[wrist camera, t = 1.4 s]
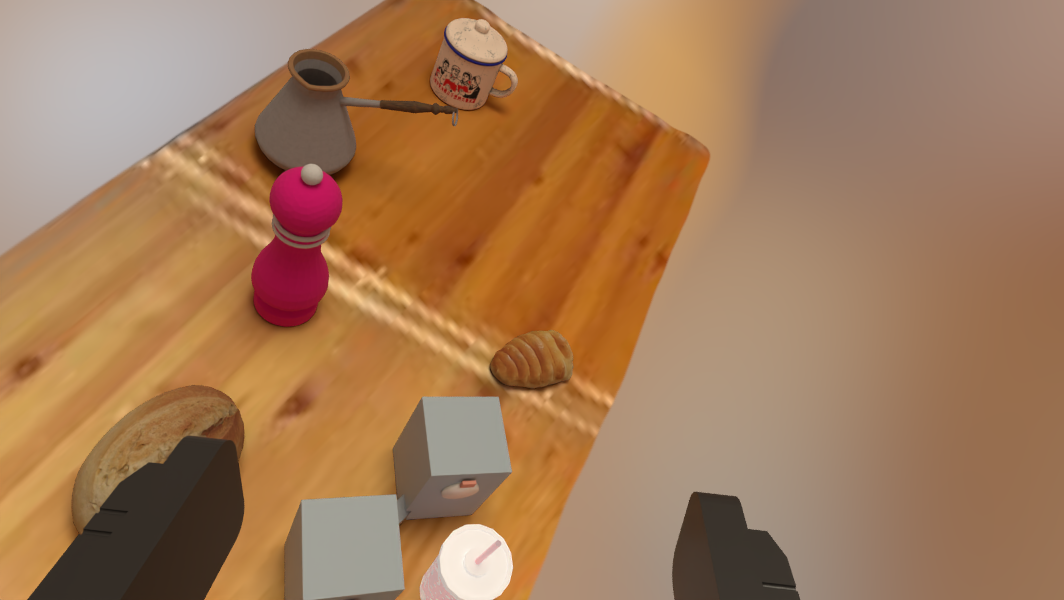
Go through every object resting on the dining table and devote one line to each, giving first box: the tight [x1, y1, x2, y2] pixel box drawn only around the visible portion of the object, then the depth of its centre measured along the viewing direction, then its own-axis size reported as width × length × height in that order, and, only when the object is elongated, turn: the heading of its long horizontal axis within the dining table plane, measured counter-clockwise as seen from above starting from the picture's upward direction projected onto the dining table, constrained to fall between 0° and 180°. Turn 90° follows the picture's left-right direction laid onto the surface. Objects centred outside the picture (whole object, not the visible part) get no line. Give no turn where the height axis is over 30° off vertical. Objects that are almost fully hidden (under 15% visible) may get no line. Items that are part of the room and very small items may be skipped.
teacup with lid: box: [430, 18, 518, 110], centre depth 99 cm, size 12×9×12 cm
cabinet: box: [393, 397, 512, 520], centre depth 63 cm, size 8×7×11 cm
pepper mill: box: [251, 164, 342, 327], centre depth 65 cm, size 7×7×20 cm
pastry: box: [490, 330, 573, 389], centre depth 78 cm, size 9×7×4 cm
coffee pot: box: [255, 49, 458, 175], centre depth 80 cm, size 21×12×15 cm, turn 82°
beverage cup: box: [420, 524, 513, 600], centre depth 57 cm, size 6×6×14 cm
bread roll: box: [72, 385, 244, 534], centre depth 56 cm, size 10×15×8 cm, turn 155°
